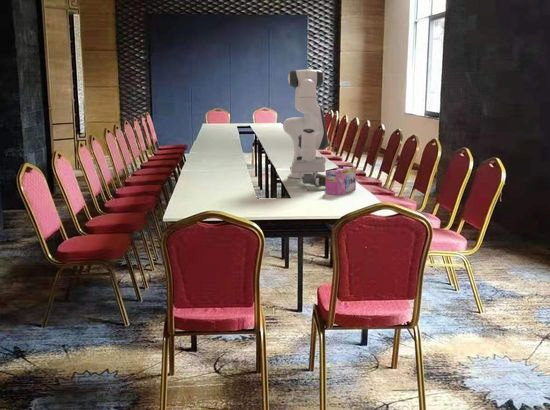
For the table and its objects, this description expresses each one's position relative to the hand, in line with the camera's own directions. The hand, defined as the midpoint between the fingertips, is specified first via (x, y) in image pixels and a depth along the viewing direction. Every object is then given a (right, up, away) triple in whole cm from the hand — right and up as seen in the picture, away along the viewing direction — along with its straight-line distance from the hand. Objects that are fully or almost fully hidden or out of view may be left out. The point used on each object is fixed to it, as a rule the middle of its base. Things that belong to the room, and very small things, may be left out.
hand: (308, 179), depth 359 cm
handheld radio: (+7, -3, +8) cm, 11 cm away
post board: (+7, -6, -10) cm, 14 cm away
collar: (0, -2, 0) cm, 2 cm away
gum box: (+18, -8, -17) cm, 26 cm away
